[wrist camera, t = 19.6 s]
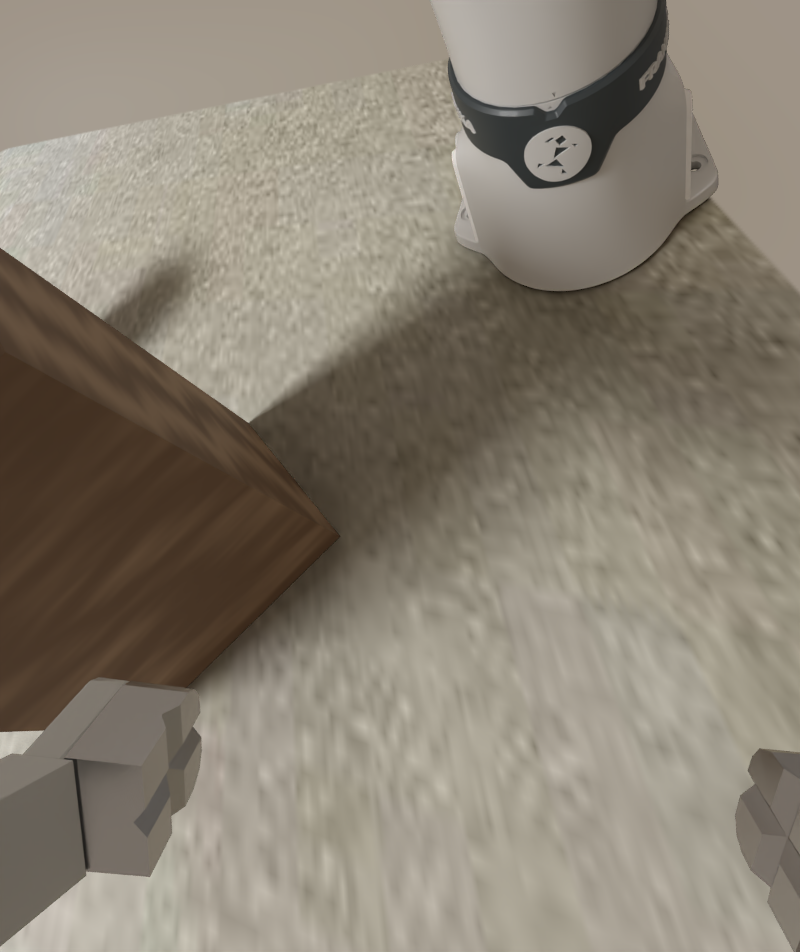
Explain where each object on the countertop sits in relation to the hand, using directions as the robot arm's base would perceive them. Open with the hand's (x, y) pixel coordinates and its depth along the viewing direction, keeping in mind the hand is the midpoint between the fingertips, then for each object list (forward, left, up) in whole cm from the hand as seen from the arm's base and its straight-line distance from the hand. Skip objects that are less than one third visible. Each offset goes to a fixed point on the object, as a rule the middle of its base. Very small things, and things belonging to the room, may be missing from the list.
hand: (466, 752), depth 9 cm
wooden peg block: (-9, -30, -28) cm, 42 cm away
